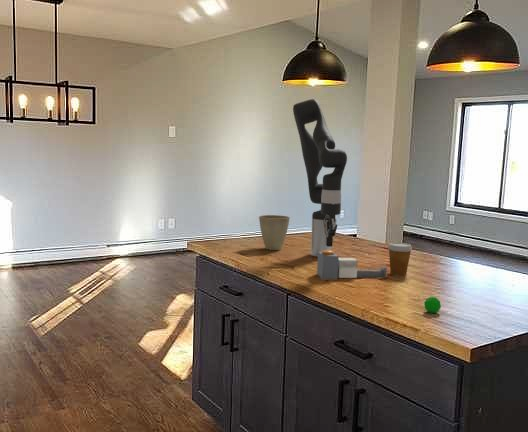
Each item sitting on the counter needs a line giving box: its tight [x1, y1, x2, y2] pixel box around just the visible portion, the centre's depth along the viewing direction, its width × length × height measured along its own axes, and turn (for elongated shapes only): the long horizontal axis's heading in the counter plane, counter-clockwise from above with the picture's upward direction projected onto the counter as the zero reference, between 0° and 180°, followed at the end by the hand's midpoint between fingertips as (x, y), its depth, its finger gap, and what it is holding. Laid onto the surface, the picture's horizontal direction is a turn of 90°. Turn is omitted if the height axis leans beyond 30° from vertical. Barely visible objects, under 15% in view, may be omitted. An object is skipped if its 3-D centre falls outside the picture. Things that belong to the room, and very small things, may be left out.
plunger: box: [322, 249, 335, 255], centre depth 219 cm, size 4×4×5 cm
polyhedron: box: [423, 296, 442, 314], centre depth 175 cm, size 5×5×5 cm
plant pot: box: [258, 214, 291, 251], centre depth 275 cm, size 15×15×16 cm
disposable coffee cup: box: [387, 242, 413, 276], centre depth 229 cm, size 10×10×12 cm
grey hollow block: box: [316, 252, 340, 280], centre depth 219 cm, size 9×6×9 cm, turn 7°
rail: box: [357, 265, 387, 279], centre depth 221 cm, size 3×20×4 cm, turn 97°
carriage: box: [338, 257, 358, 279], centre depth 220 cm, size 5×7×7 cm
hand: (329, 246), depth 218 cm, fingers closed
